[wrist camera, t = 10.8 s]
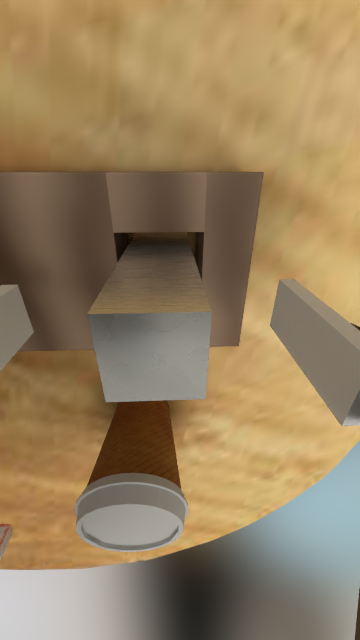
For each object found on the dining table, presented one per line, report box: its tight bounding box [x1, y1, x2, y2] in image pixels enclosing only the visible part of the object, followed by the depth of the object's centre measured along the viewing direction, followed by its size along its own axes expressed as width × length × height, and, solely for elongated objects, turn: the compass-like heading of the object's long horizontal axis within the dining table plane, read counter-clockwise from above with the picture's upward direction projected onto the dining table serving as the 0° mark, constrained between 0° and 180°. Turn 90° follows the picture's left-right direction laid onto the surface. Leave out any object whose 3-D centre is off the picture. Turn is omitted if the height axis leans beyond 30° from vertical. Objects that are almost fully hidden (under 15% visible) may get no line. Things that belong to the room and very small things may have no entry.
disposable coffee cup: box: [74, 400, 188, 552], centre depth 25 cm, size 10×10×12 cm
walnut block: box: [0, 172, 264, 351], centre depth 19 cm, size 24×12×5 cm, turn 90°
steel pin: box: [87, 232, 212, 402], centre depth 15 cm, size 4×4×14 cm
